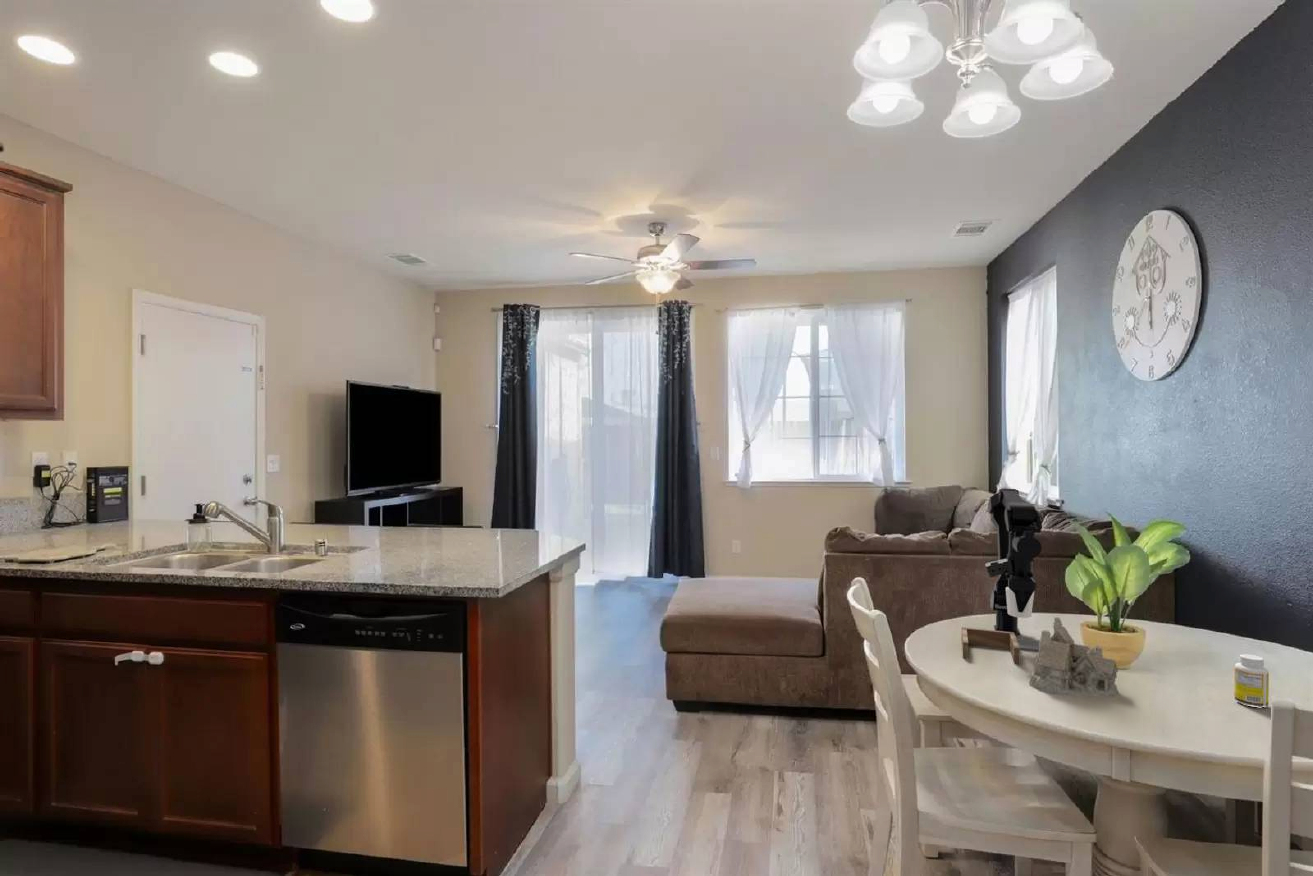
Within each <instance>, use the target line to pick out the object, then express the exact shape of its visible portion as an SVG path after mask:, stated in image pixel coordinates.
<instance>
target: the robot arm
mask: <svg viewBox="0 0 1313 876" xmlns="http://www.w3.org/2000/svg"><path fill="white" fill-rule="evenodd" d="M987 512H988V514H989V515H990V521H991V522H992V524H993V526H994V527H995V528H996V534H997V537H996V539H997V558H998V559H997V560H995V561H990V562H987V563H985V564H984V566H985V569H986V572H987V574H988V577H989V578H993V577H994V578H995V577H996V576H998V578H997V580H996V581H995V583H994V585H993V589H992V591H991V593H990V599H989V605H990V606H989V607H990V609H991V610H992V611H995V624H994V625H993V629H994V630H995V631H1004V632H1014V634H1015V635H1021V632H1020V629H1019V626H1018V625H1019V617H1014V616H1011V615H1009V614H1008V610H1007V598H1006V587H1009V589H1010V590H1012V591H1013V592H1014V593H1015V598H1016V604H1017V609H1018V612H1021V613H1022V612H1023V611H1024V609H1025V607H1026V605H1027V603H1028V601H1029V599H1030V597H1031V595H1032V594H1033V592H1034V593H1035V592H1036V590H1037V589H1036V588H1037V584H1036V583H1037V582H1036V580H1035V579H1034V578H1033V577H1034V573H1033V562H1034V559H1035V558H1037V557H1039V555H1040V554H1041V552H1042V544H1041V542H1040V541H1039V540H1038V539H1037V538H1036V537H1035V534H1041V533H1042V531H1043V530H1042V529H1043V523H1042V518H1041V515H1040V513H1039V510H1038V509H1036V507H1035V505H1034V504H1032V503H1031V504H1030V503H1026V502H1025V501H1023V498H1022V497H1021V496H1020V492H1019V489H1016V488H1005V487H1004V488H1002V487H1001V488H999V489H998V491H997V493H995V494H993V495H991V496H990V498H989V500H988V503H987Z"/></svg>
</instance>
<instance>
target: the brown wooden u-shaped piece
mask: <svg viewBox="0 0 1313 876" xmlns="http://www.w3.org/2000/svg"><path fill="white" fill-rule="evenodd" d="M1016 638H1017V637H1016V634H1014V632H1004V631H995V629H994V630H992V629H986V628H985V629H984V628H975V627H966V626H964V627H963V626H961V652H962V658H963V659H969V644H973V645H979V646H981V645H982V646H987V647H988V646H990V647H997V648H998V647H999V648H1006V649H1009V651H1010V654H1011V658H1012V661H1013V664H1014V665H1020V663H1021V658H1020V657H1021V655H1020V654H1021V650H1020V648H1019V645H1018V642H1017V639H1018V638H1017V639H1016Z"/></svg>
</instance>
